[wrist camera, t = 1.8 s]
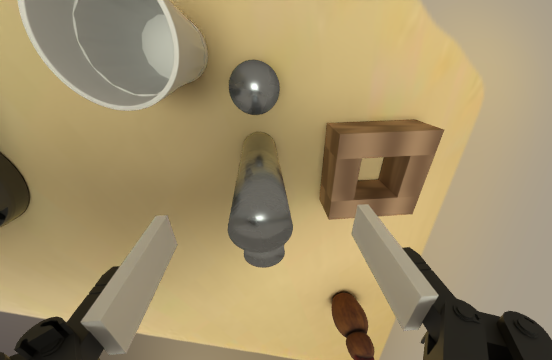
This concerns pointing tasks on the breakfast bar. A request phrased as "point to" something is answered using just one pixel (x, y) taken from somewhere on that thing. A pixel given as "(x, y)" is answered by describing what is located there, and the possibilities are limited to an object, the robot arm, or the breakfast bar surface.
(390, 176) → the hole block
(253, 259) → the medium pin
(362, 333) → the wooden figurine
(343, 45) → the breakfast bar surface
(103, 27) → the cup
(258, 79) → the short pin
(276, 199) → the long pin
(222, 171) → the breakfast bar surface
